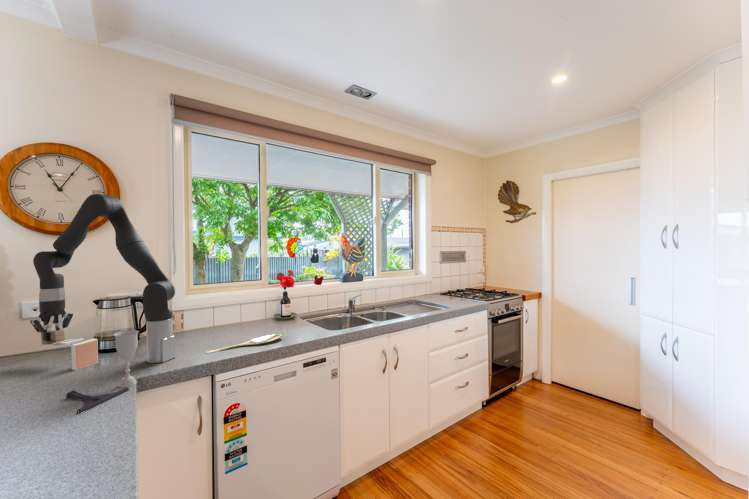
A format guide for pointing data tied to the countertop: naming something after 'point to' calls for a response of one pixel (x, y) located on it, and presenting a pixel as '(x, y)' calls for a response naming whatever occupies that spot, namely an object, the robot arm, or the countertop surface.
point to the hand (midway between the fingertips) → (53, 340)
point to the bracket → (93, 398)
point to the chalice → (127, 352)
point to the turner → (58, 338)
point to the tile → (84, 354)
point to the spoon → (252, 342)
